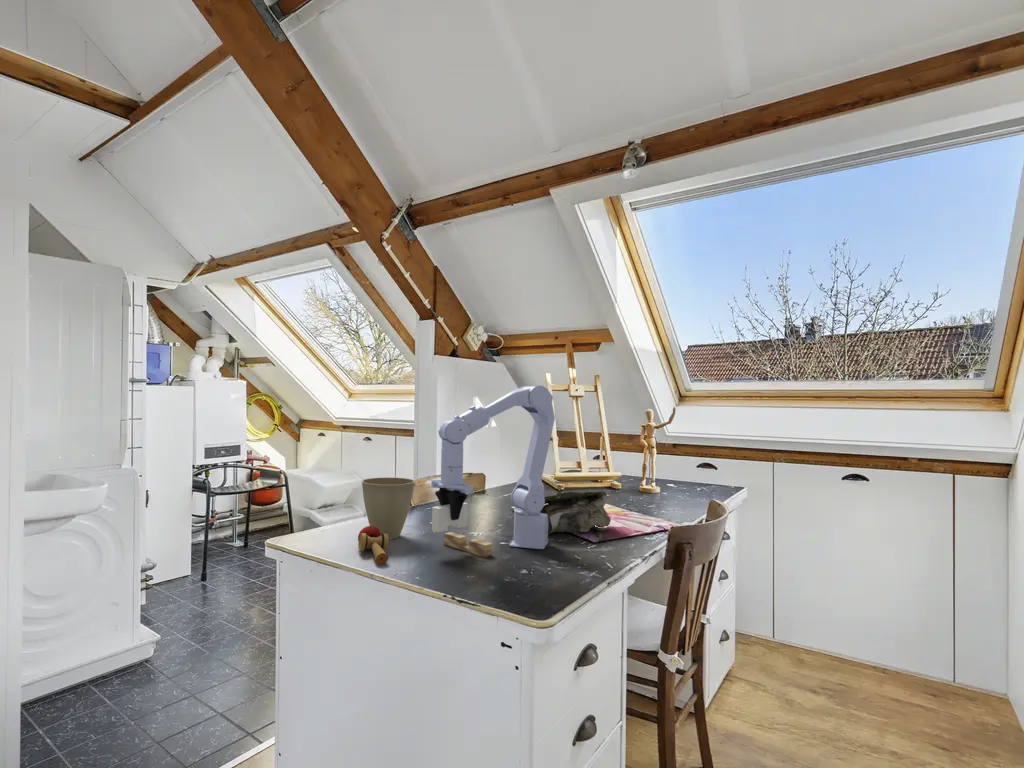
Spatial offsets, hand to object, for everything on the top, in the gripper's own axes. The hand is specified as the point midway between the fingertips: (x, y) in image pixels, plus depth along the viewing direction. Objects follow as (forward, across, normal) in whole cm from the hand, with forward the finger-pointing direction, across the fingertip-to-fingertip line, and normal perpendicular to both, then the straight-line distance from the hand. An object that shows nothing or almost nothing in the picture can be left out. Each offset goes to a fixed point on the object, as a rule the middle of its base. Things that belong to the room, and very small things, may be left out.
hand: (451, 518), depth 144 cm
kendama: (+9, -11, -16) cm, 21 cm away
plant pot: (+9, -24, -3) cm, 26 cm away
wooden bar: (+9, +1, +5) cm, 10 cm away
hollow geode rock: (+9, +7, +42) cm, 44 cm away
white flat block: (+2, 0, 0) cm, 3 cm away
